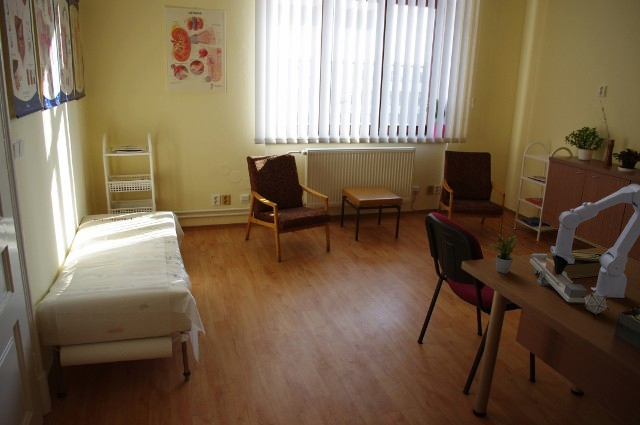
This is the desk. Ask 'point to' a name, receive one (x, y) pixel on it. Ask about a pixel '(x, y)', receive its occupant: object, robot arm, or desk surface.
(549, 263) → the block
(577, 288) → the beam
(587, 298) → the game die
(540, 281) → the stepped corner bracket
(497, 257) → the house plant
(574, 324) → the desk surface
